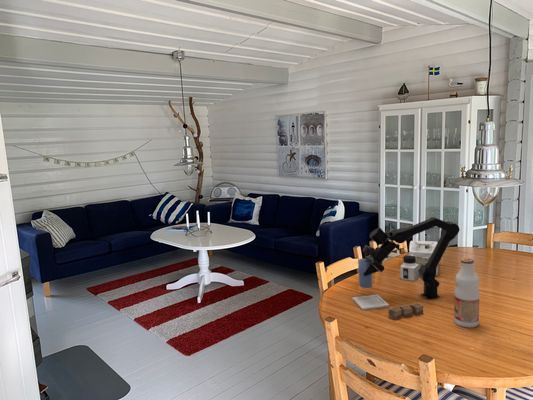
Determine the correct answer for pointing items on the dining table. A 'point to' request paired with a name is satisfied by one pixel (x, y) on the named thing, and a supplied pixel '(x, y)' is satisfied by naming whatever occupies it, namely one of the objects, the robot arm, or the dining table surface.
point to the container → (409, 268)
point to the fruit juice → (466, 295)
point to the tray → (370, 302)
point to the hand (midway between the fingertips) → (362, 273)
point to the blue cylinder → (363, 280)
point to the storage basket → (422, 252)
